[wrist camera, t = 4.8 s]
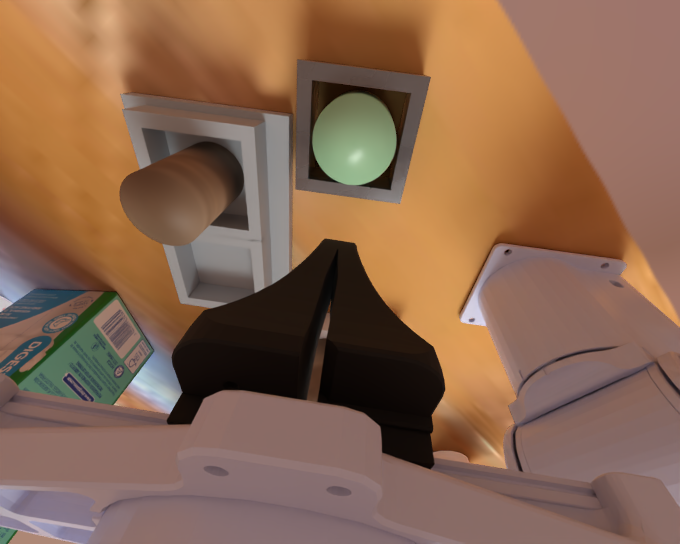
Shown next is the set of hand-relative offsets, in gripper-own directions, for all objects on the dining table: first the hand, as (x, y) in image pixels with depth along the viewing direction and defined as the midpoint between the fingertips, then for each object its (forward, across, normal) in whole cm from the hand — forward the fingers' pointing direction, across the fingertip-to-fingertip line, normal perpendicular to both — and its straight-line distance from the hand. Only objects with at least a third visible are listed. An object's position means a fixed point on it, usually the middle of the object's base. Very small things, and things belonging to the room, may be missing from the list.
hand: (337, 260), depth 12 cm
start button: (+9, 0, -3) cm, 10 cm away
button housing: (+9, 0, -3) cm, 10 cm away
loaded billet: (+8, +9, 0) cm, 12 cm away
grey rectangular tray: (+9, +9, +4) cm, 14 cm away
